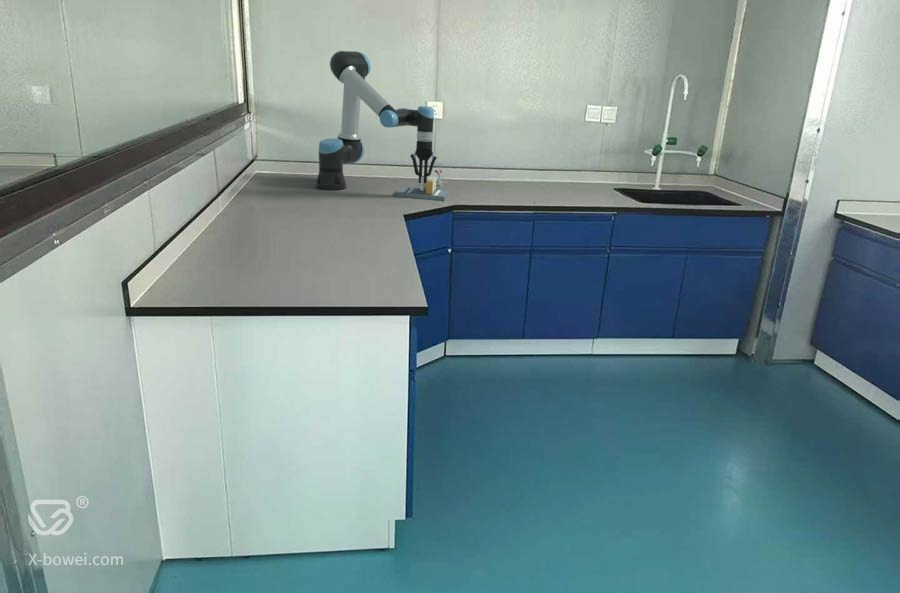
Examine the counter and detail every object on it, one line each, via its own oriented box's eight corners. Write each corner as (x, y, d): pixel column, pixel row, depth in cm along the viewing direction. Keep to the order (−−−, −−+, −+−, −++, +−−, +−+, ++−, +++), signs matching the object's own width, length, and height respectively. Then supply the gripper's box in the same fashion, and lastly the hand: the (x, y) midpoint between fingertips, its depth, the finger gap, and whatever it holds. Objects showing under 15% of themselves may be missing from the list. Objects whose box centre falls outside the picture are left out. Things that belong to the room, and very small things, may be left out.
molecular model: (436, 194, 320) (436, 174, 316) (419, 192, 324) (418, 173, 320) (453, 186, 336) (453, 168, 332) (436, 185, 340) (436, 166, 336)
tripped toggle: (425, 193, 306) (426, 181, 304) (427, 192, 309) (427, 180, 307) (432, 194, 306) (432, 181, 304) (433, 192, 309) (433, 180, 307)
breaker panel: (395, 196, 307) (396, 179, 304) (401, 190, 320) (402, 174, 317) (444, 200, 305) (445, 183, 302) (448, 194, 318) (449, 178, 315)
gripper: (409, 140, 296) (407, 190, 304) (436, 142, 295) (434, 192, 303) (412, 138, 303) (410, 187, 311) (439, 140, 302) (436, 189, 310)
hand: (422, 189), depth 307 cm, fingers closed
